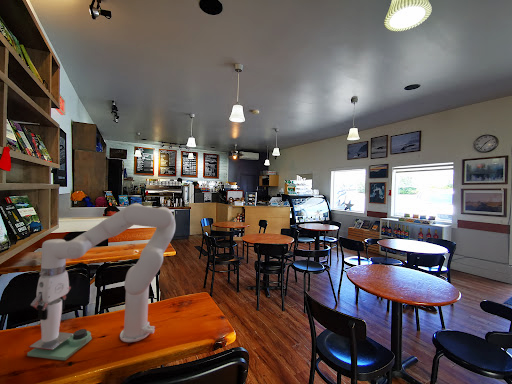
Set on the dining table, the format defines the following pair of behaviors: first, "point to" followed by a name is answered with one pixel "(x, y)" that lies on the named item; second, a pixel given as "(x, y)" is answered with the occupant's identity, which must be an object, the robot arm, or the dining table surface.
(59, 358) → the scale
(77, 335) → the tare button
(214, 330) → the dining table surface
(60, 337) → the scale plate
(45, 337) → the drinking glass
